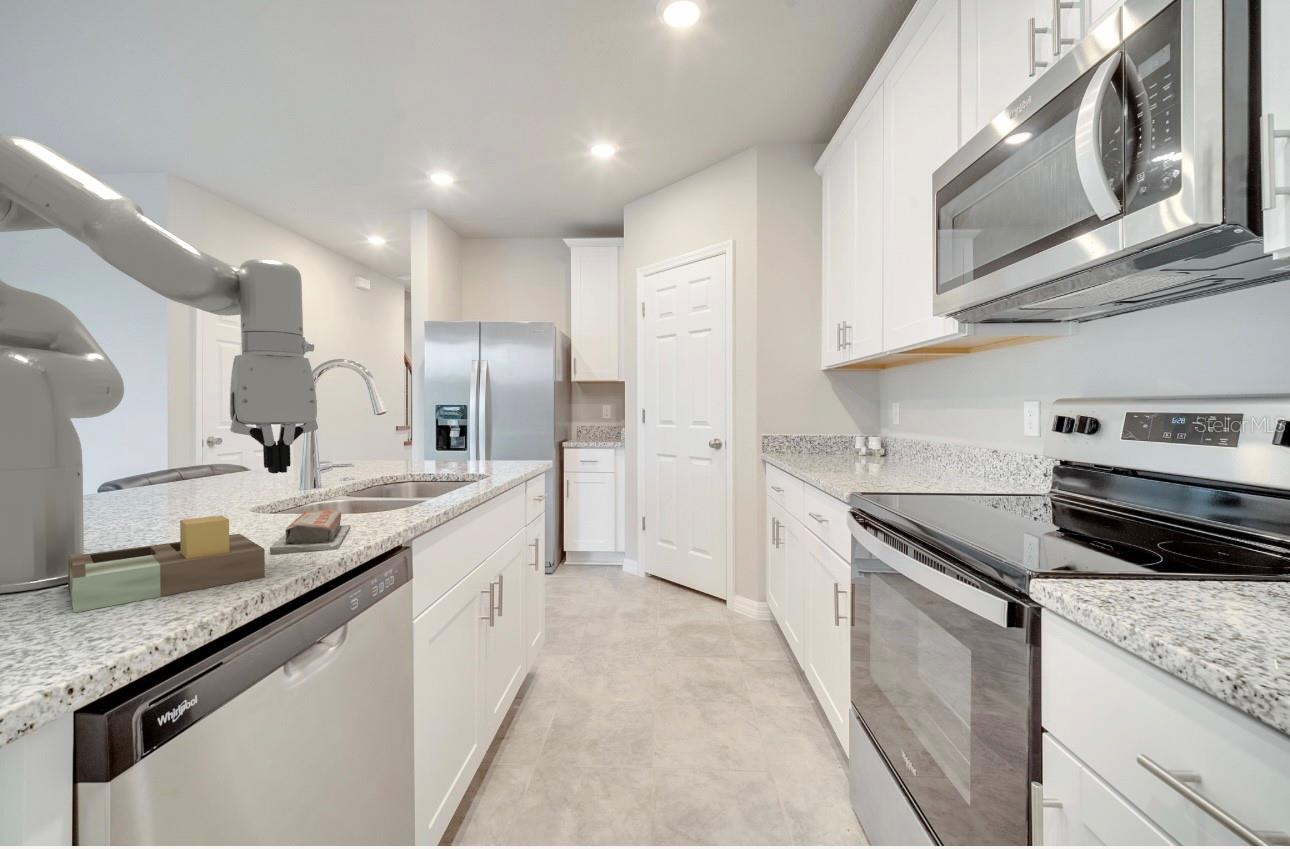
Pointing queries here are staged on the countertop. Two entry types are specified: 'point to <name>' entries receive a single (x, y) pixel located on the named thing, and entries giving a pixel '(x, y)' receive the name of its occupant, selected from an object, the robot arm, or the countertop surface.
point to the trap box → (157, 572)
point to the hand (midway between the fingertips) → (277, 472)
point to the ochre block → (204, 536)
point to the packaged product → (312, 533)
